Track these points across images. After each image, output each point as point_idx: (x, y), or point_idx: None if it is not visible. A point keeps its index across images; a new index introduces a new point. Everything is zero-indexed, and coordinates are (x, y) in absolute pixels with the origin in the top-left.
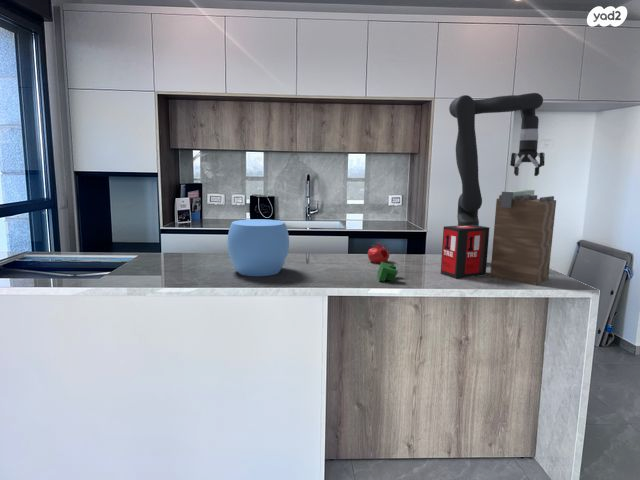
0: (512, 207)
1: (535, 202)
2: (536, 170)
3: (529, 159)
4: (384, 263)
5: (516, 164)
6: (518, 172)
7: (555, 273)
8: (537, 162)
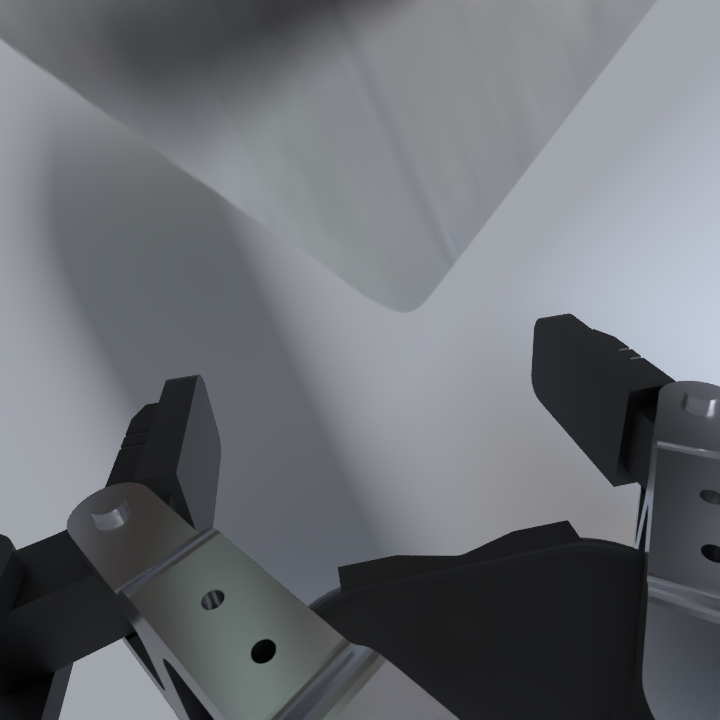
0: None
1: None
2: (152, 449)
3: (373, 648)
4: None
5: (707, 430)
6: (558, 417)
7: (34, 50)
8: (165, 686)
